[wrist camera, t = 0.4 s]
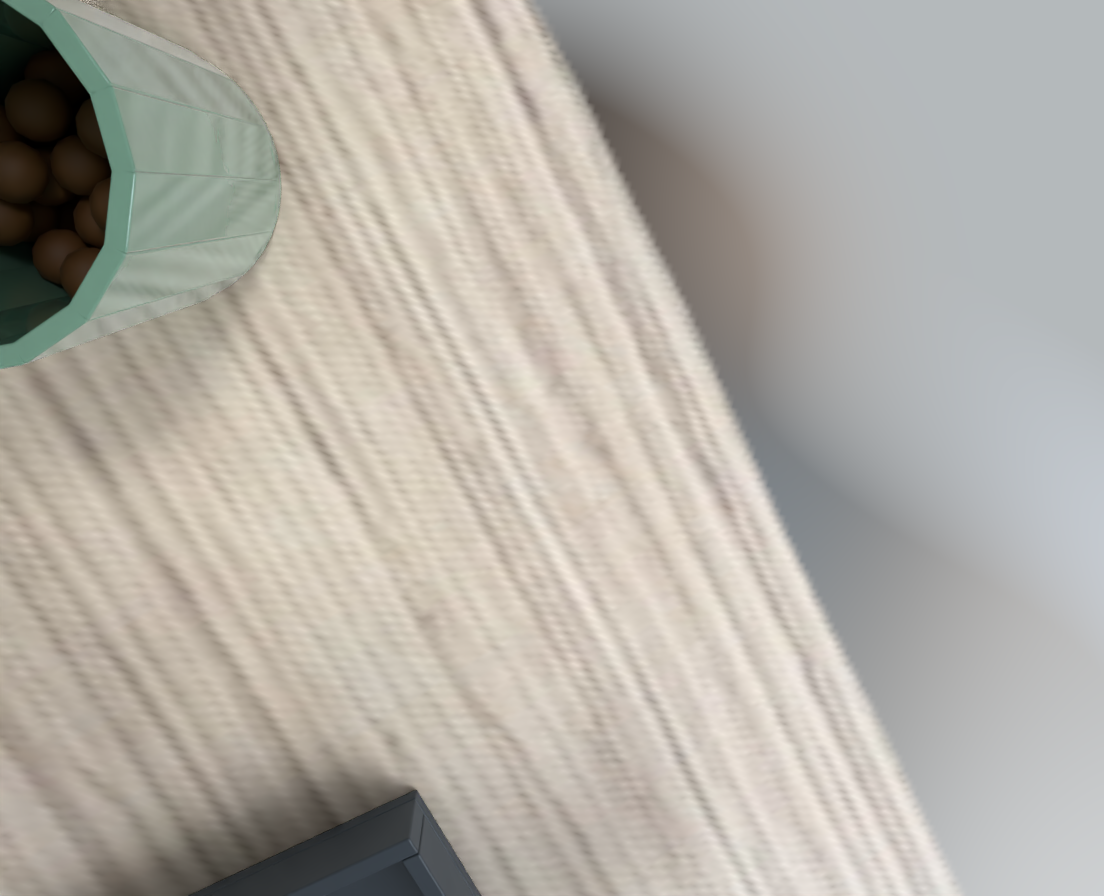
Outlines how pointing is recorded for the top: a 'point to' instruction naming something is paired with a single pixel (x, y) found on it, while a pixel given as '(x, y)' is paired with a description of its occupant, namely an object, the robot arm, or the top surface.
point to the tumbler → (141, 180)
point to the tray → (362, 860)
